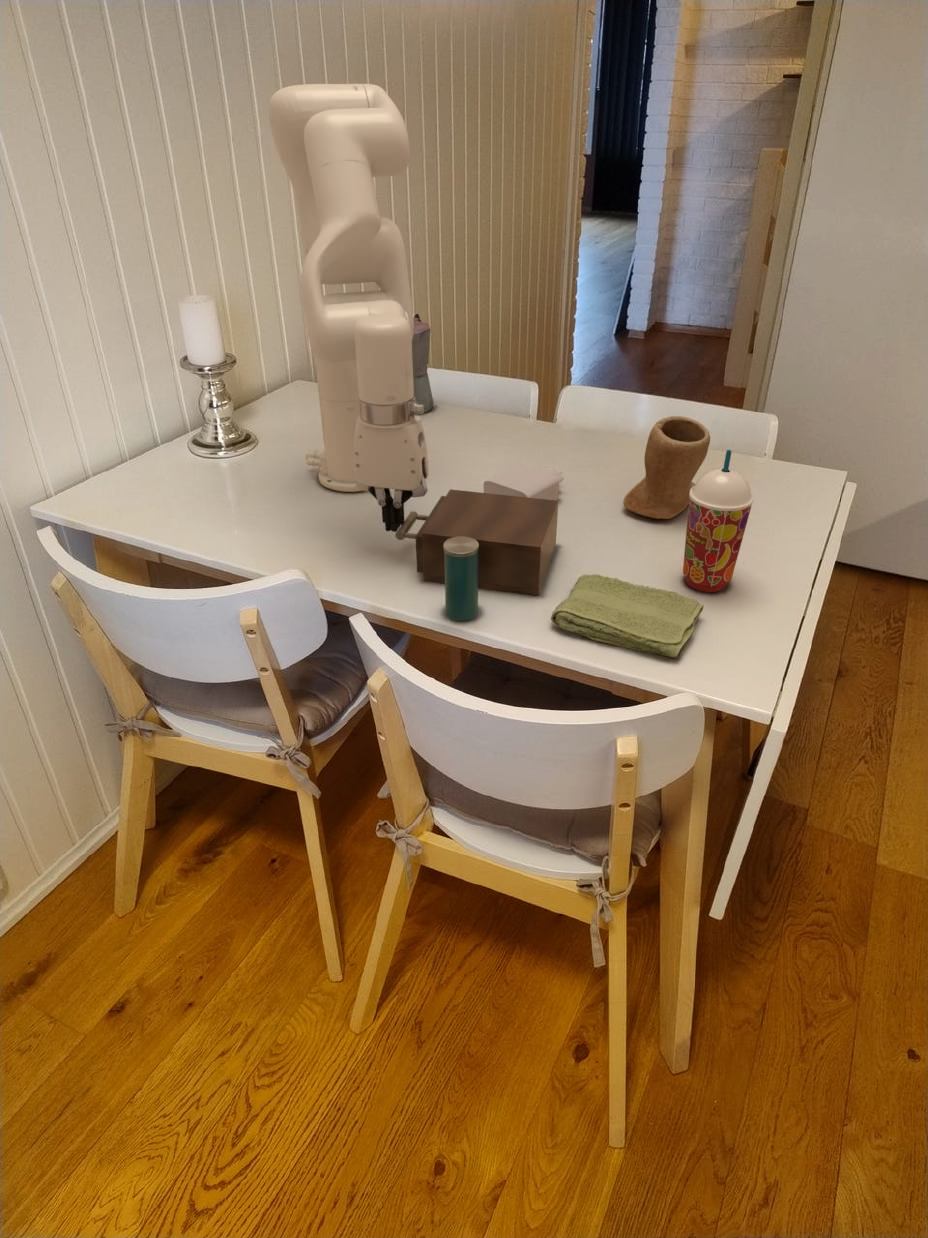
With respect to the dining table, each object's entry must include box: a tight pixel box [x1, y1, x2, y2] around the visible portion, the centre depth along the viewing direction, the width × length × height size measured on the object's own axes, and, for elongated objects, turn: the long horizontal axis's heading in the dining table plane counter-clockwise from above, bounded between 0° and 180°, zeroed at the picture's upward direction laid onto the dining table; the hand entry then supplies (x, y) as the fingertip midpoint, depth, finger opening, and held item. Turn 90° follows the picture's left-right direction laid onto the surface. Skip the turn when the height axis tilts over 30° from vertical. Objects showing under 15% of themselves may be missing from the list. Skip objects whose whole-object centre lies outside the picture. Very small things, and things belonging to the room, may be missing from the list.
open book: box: [483, 464, 565, 501], centre depth 142 cm, size 5×9×15 cm
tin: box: [443, 536, 479, 622], centre depth 111 cm, size 5×5×10 cm
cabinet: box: [422, 489, 559, 596], centre depth 123 cm, size 17×15×8 cm
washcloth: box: [550, 573, 705, 658], centre depth 111 cm, size 13×18×3 cm
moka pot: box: [412, 313, 435, 414], centre depth 176 cm, size 10×15×20 cm, turn 171°
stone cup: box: [622, 415, 711, 520], centre depth 137 cm, size 15×12×15 cm
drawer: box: [395, 495, 446, 574], centre depth 124 cm, size 20×14×6 cm
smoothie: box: [682, 449, 755, 593], centre depth 114 cm, size 8×8×20 cm
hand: (393, 527), depth 126 cm, fingers closed
